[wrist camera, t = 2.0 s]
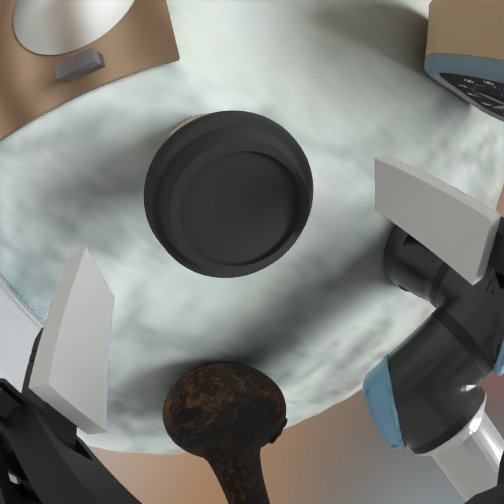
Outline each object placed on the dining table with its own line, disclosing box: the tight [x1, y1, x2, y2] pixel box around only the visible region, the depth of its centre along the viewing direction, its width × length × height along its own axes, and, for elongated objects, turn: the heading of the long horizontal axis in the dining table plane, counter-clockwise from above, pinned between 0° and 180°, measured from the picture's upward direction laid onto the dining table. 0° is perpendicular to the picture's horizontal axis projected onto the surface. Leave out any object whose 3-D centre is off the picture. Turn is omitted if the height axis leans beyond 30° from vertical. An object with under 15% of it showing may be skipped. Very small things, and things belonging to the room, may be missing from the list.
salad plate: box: [0, 275, 45, 393], centre depth 27 cm, size 21×21×3 cm
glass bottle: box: [163, 362, 287, 504], centre depth 31 cm, size 18×18×28 cm
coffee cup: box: [144, 111, 313, 278], centre depth 19 cm, size 9×9×15 cm
